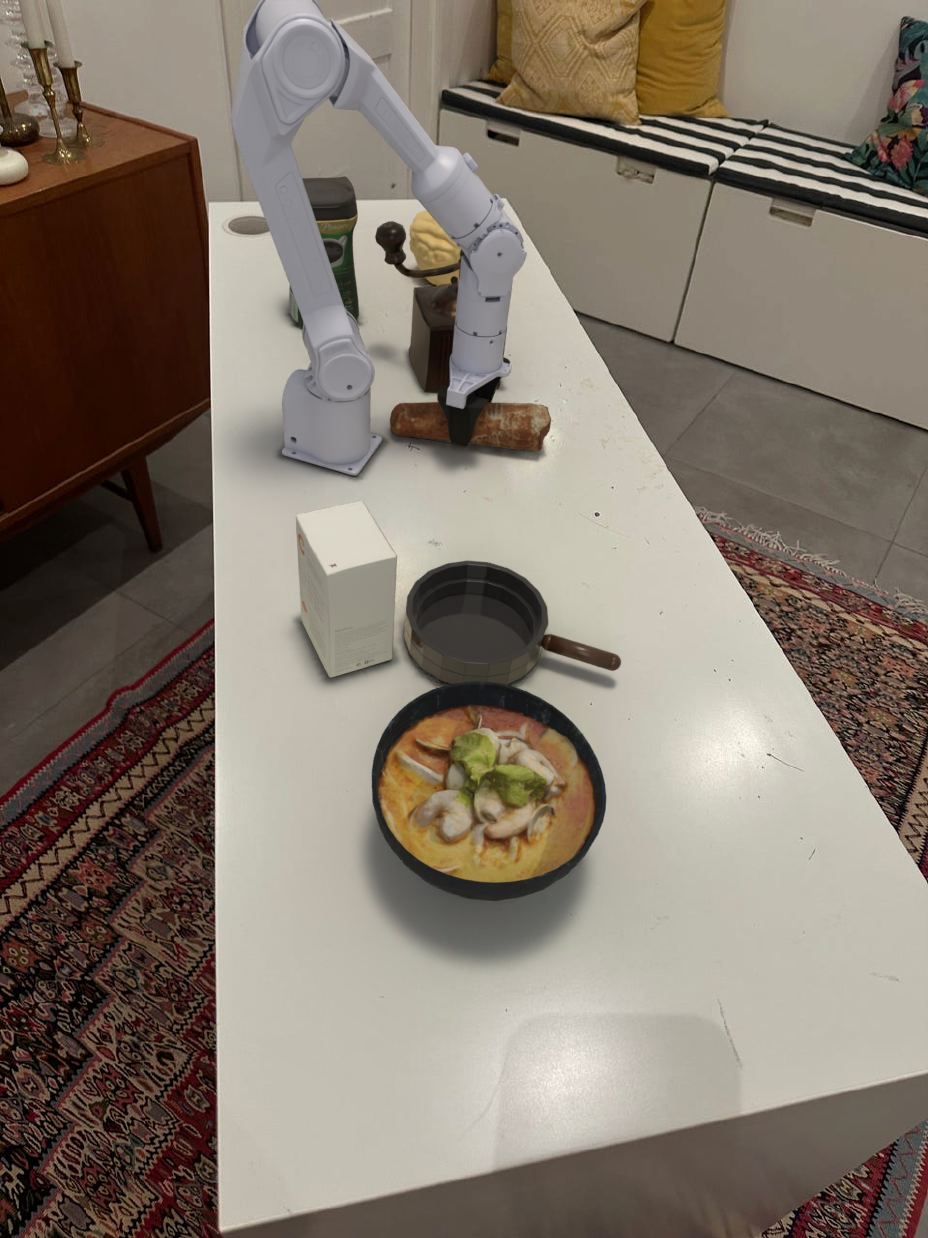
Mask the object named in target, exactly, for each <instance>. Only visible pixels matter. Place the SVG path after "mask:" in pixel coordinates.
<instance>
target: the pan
mask: <svg viewBox="0 0 928 1238" xmlns="http://www.w3.org/2000/svg"><path fill="white" fill-rule="evenodd" d="M546 603H547V602H545V600H544V598H543V596H542V594H541V591H539V590H538V588H536V587H535V585H533V584H532V582H531V581H530V580H528V579H527V578H526V577H525V576H523V575H521V574H519V573H518V572H516V571H514V570H513V569H511V568H508V567H507V566H506V567H505V566H502V565H499V564H496V563H492V562H490V561H489V562H488V561H479V560H478V561H477V560H461V561H455V562H453V561H452V562H446V563H444V564H442V565H439V566H437V567H434V568H432V569H430V570H427V572H425V573H424V574H423V575H422V576H421V577H419V578H418V579H416V580H415V581H414V584H413V585H412V587H411V589H410V590H409V592H408V595H407V597H406V605H405V617H404V618H405V620H404V633H403V637H404V641H405V644H406V647H407V650H408V653H409V654H410V656H411V657H412V658H413V659H414V661H415V662H416V663H417V664H418V666H419V667H420V668H421V669H422V670H424V671H425V672H426V673H428V674H429V675H431V676H432V677H434V678H436V679H438V680H439V681H441V682H443V683H447V684H449V685H451V684H456V683H462V682H471V681H483V682H494V683H501V684H505V685H509V684H511V683H513V682H515V681H517V680H519V679H521V678H523V677H525V676H526V675H527V674H528V673H529V672H530V671H531V669H533V668H534V667H535V665H536V664H537V663H538V661H539V659H540V656H541V653H542V650H543V647H542V642H543V639H544V636H545V635H546V634H547V631H548V628H549V627H548V626H549V612H548V605H547V604H546Z"/></svg>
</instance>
